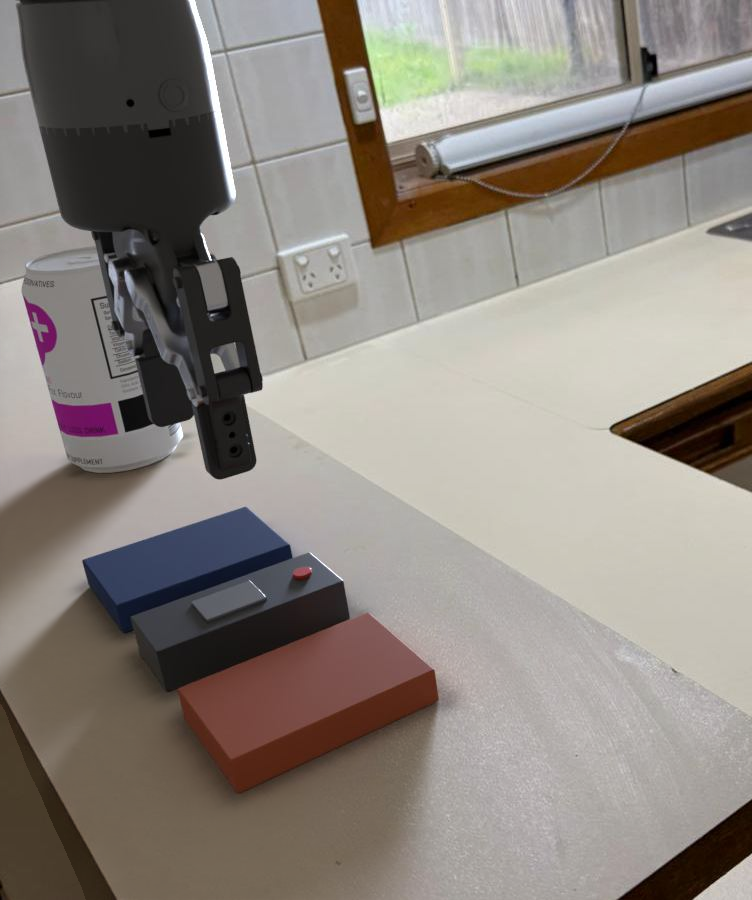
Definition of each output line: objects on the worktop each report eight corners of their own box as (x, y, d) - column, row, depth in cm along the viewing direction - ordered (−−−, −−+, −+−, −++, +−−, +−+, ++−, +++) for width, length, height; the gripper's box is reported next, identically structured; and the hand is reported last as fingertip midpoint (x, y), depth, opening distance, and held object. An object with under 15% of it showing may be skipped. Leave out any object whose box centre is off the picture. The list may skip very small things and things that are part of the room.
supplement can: (70, 486, 81) (14, 279, 75) (69, 446, 88) (17, 254, 82) (190, 461, 84) (144, 260, 78) (179, 424, 90) (136, 237, 84)
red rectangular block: (184, 719, 54) (176, 688, 54) (373, 640, 60) (368, 611, 59) (238, 794, 49) (230, 760, 48) (439, 700, 55) (435, 669, 54)
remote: (166, 692, 57) (155, 648, 56) (140, 655, 60) (128, 613, 59) (350, 618, 62) (343, 577, 61) (316, 588, 65) (309, 548, 64)
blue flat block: (88, 586, 67) (81, 559, 66) (251, 530, 72) (246, 505, 72) (123, 634, 62) (115, 606, 61) (295, 571, 67) (290, 544, 66)
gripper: (2, 106, 53) (84, 426, 60) (83, 134, 43) (172, 519, 49) (163, 88, 57) (224, 390, 64) (274, 109, 47) (333, 468, 53)
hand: (201, 446), depth 56 cm, fingers open, 8 cm apart
